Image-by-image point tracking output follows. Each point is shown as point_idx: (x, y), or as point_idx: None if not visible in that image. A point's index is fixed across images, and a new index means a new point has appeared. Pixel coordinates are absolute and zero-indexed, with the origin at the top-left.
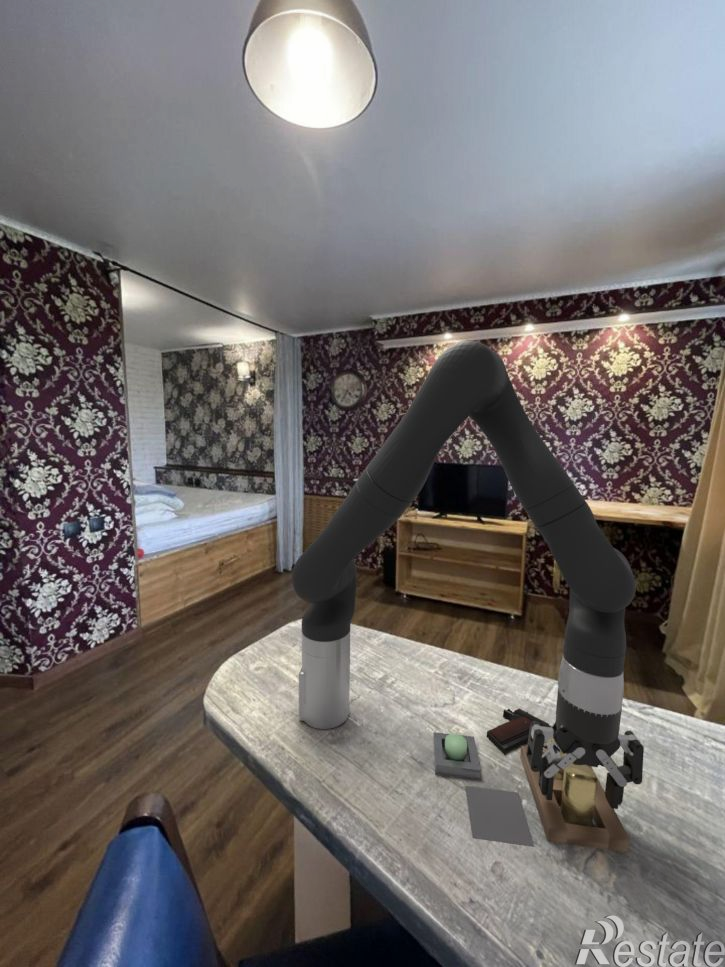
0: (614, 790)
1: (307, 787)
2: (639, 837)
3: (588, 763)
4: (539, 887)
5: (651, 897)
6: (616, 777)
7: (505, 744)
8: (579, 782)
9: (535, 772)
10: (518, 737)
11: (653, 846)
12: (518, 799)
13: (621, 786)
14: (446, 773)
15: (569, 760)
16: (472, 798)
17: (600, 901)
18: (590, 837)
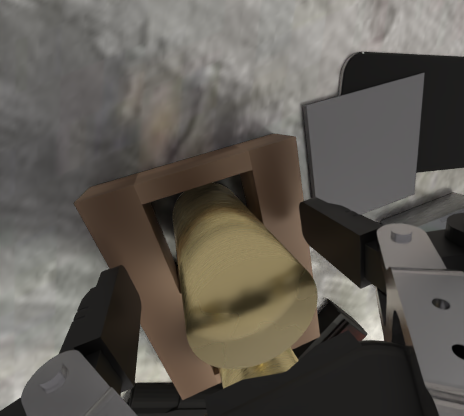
0: (105, 317)
1: None
2: (56, 251)
3: (279, 392)
4: (303, 3)
5: (27, 83)
6: (82, 391)
7: (337, 324)
8: (271, 264)
9: None
10: None
11: (20, 243)
12: None
13: (64, 352)
14: (445, 202)
15: (445, 335)
16: (406, 171)
17: (165, 17)
18: (185, 166)
